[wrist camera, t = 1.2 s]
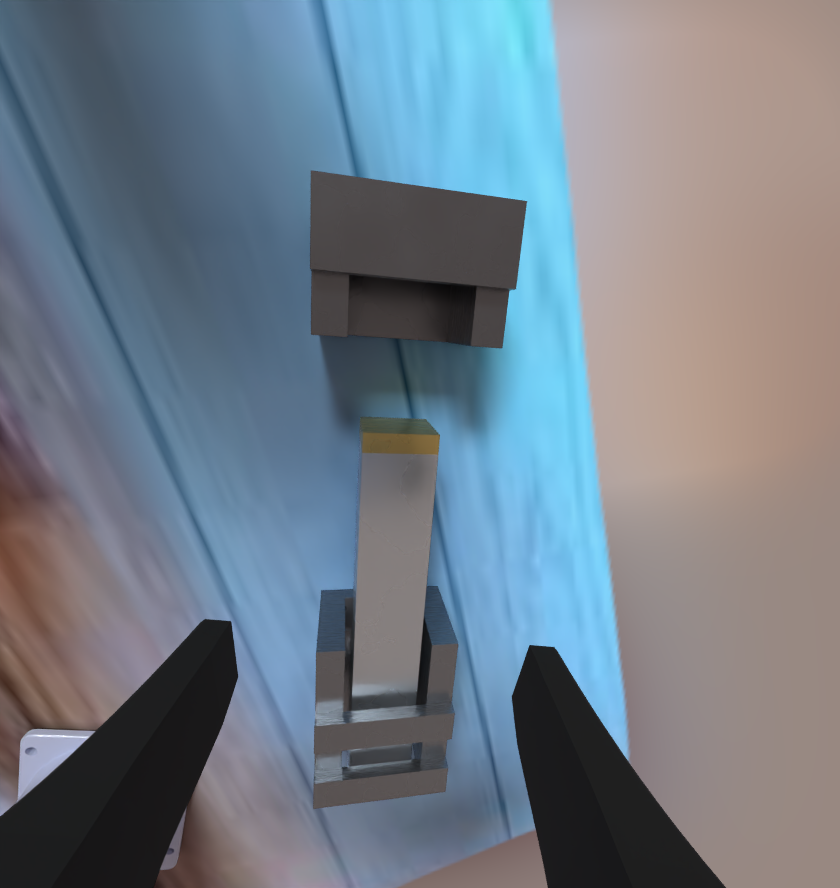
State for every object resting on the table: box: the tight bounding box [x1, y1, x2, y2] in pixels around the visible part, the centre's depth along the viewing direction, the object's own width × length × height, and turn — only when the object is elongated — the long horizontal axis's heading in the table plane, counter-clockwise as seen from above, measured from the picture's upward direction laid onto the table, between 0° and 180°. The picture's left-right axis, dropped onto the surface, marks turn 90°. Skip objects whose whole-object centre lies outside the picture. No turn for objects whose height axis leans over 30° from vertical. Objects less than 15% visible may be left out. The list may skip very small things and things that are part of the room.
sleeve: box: [313, 586, 458, 809], centre depth 21 cm, size 8×6×5 cm
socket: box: [310, 171, 527, 348], centre depth 16 cm, size 5×7×5 cm
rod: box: [348, 417, 440, 767], centre depth 20 cm, size 18×3×3 cm, turn 176°
